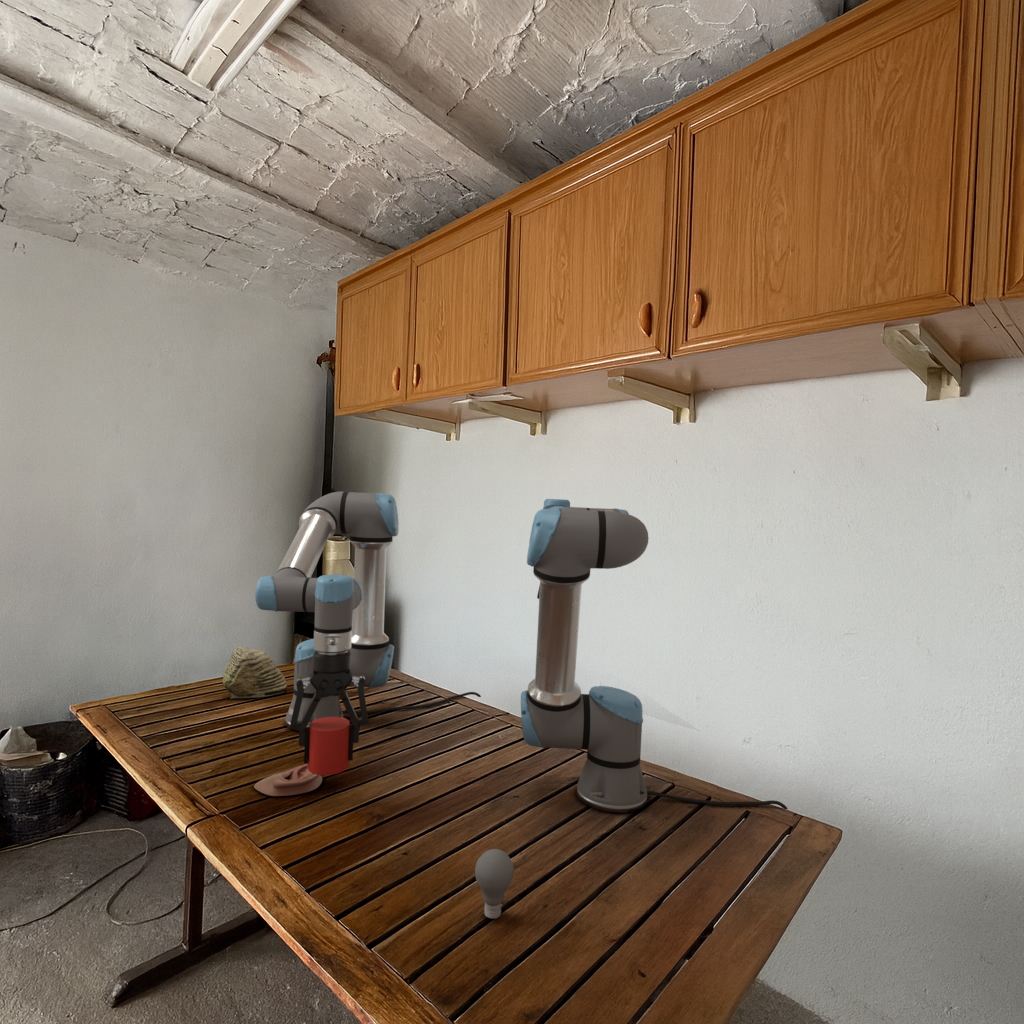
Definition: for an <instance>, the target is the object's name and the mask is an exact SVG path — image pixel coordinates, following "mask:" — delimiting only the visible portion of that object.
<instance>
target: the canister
mask: <svg viewBox="0 0 1024 1024" xmlns="http://www.w3.org/2000/svg"><path fill="white" fill-rule="evenodd" d="M350 725H351V720H349V719H347V718H346V717H343V718H342V717H323V718H319V719H316V720H314V721H312V722H311V723H310V725H309V750H308V763H307V764H308V770H309V771H310V772H311V773H313V774H317V775H320V776H333V775H337V774H340V773H342V772H345V771H346V770H347V769H348V768H349V764H350V763H349V762H350V761H349V738H350Z"/></svg>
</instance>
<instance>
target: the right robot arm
mask: <svg viewBox="0 0 1024 1024" xmlns="http://www.w3.org/2000/svg"><path fill="white" fill-rule="evenodd" d="M531 525H532V526H531V531H530V535H529V541H528V542H529V543H528V548H527V555H526V564H527V565H528V566H530V567H532V568H533V569H532V570H533V571H532V573H533V576H534V577H535V578H536V579H537V580H539V588H538V591H537V596H536V599H538V616H537V633H536V635H537V637H536V655H535V656H536V657H535V672H534V673H535V677H534V678H533V679H532V680H531V681H529V683H528V685H527V689H526V690H523V691H521V694H520V713H521V714H520V717H521V728H522V730H521V731H522V737H523V740H524V742H525V743H526V744H527V745H528V746H529V747H537V748H541V749H547V748H551V749H567V750H569V749H570V750H585V751H586V761H585V762H584V764H583V768H582V771H581V772H580V776H579V778H578V781H577V784H576V785H577V786H576V795H577V798H578V799H579V800H580V802H582V803H584V804H585V805H587V806H588V807H591V808H592V809H595V810H599V811H602V812H606V813H613V814H614V813H616V814H624V813H625V814H627V813H632V812H637V811H639V810H641V809H643V808H644V807H645V806H646V805H647V804H648V795H649V796H655V797H661V798H665V799H670V800H675V801H680V802H686V803H687V802H688V803H694V804H703V805H714V806H766V805H778V806H779V807H781V808H782V809H783V810H788V809H789V808H788V807H787V805H785V803H783V802H781V801H778V800H774V799H773V800H763V801H762V800H761V801H749V800H748V801H747V800H745V801H717V800H708V799H707V800H705V799H698V798H690V797H683V796H677V795H673V794H667V793H664V792H663V793H662V792H657V791H652V790H648V789H647V785H646V782H645V778H644V773H643V770H642V766H641V755H642V754H641V752H642V732H643V723H644V717H643V716H644V715H643V703H642V701H641V699H640V698H639V697H638V696H637V695H635V694H633V693H631V692H629V691H627V690H624V689H621V688H618V687H613V686H608V685H598V686H597V685H594V686H592V687H590V689H589V691H588V693H582V689H581V687H580V685H579V684H578V683H577V682H576V669H577V654H578V643H579V629H580V627H579V626H580V613H581V601H582V585H583V584H584V583H585V582H586V581H588V580H589V579H590V578H591V569H598V570H599V569H600V570H603V569H605V570H609V569H617V568H622V567H624V566H627V565H630V564H631V563H633V562H635V561H637V560H638V559H639V558H641V557H642V555H643V554H644V553H645V551H646V549H647V547H648V544H649V539H650V538H649V532H648V529H647V526H646V525H645V523H644V522H642V520H640V518H638V517H636V516H634V515H632V514H629V511H628V510H627V509H622V508H621V509H620V508H604V507H603V508H599V507H581V506H580V507H578V506H571V502H570V500H568V499H561V498H556V499H555V498H545V499H544V501H543V508H542V509H539V510H538V511H537V512H536V513H535V514H534V517H533V521H532V524H531Z"/></svg>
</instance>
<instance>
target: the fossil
mask: <svg viewBox="0 0 1024 1024" xmlns="http://www.w3.org/2000/svg"><path fill="white" fill-rule="evenodd" d="M222 676H223V677H222V685H223V687H224V688H225V690H226V691H228V693H229V698H230V699H250V698H264V697H271V696H275V695H281V694H284V693H285V691H286V689H287V687H288V686H287V680H286V678H285V676H284V674H283V673H282V672H281V669H279V668H278V667H277V665H276V663H275V662H274V660H273V659H272V658H271V657H270V656H269V655H268V654H267V653H266V652H265V650H264V649H263V648H260V647H258V648H251V647H247V646H246V647H245V646H238V647H237V648H236V649H235V650H233V651H232V653H231V656H230V657H229V659H228V660H227V663H226V666H225V668H224V671H223V675H222Z"/></svg>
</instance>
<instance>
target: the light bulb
mask: <svg viewBox="0 0 1024 1024" xmlns="http://www.w3.org/2000/svg"><path fill="white" fill-rule="evenodd" d="M514 874H515V867H514V863H513V861H512V859H511V857H510V856H509V855H508V854H507V853H506V852H505V851H503V850H501V849H498V848H491V849H487V850H486V851H484V852H483V853H482V854H481V855H480V856H479V857H478V859H477V861H476V863H475V867H474V876H475V880H476V882H477V884H478V886H479V888H480V890H481V893H482V899H483V901H484V910H483V911H484V912H483V914H484V916H485V917H487V918H489V919H498V918H499V917H501V914H502V903H503V901H504V898H505V893H506V891H507V890H508V888H509V887H510V885H511V883H512V882H513V879H514V876H515V875H514Z"/></svg>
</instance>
